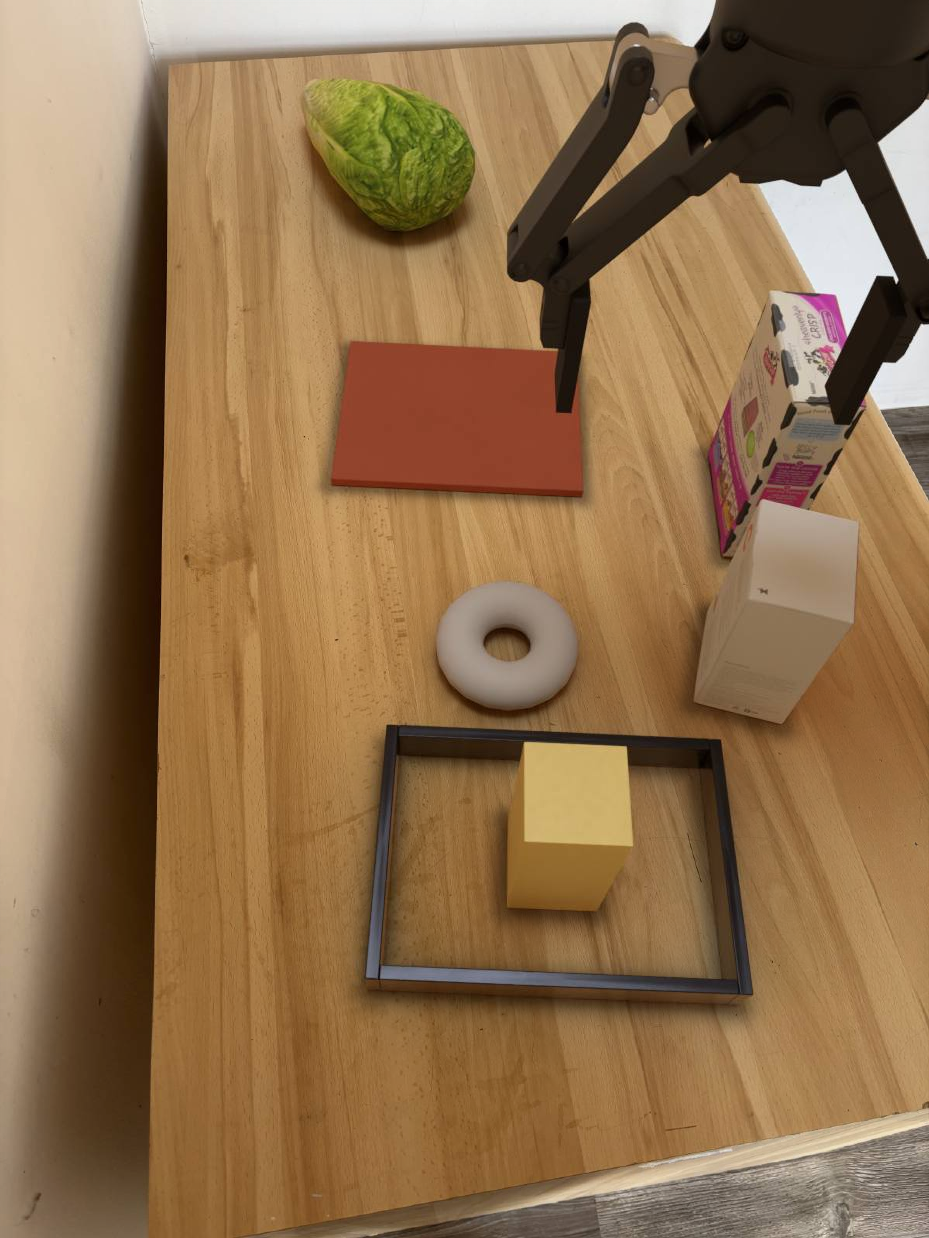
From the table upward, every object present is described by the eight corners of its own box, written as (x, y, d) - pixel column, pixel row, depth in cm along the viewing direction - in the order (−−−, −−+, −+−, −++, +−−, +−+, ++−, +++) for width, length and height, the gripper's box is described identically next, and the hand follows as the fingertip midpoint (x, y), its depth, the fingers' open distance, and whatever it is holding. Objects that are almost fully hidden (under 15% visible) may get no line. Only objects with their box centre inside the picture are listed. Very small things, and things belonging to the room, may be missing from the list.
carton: (593, 824, 60) (626, 745, 50) (596, 911, 57) (633, 846, 47) (507, 821, 60) (524, 741, 50) (506, 907, 57) (524, 841, 47)
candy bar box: (785, 563, 72) (871, 407, 58) (720, 559, 72) (791, 403, 58) (765, 454, 78) (839, 290, 64) (705, 451, 78) (766, 286, 64)
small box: (782, 726, 64) (856, 626, 53) (691, 703, 65) (745, 599, 54) (792, 631, 68) (862, 519, 57) (706, 610, 69) (758, 496, 58)
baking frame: (709, 757, 63) (721, 738, 60) (738, 1005, 54) (753, 995, 52) (387, 743, 62) (386, 723, 60) (367, 989, 54) (364, 978, 51)
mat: (575, 358, 83) (576, 351, 82) (582, 497, 74) (583, 490, 74) (351, 347, 83) (350, 340, 82) (331, 485, 74) (330, 478, 74)
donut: (434, 719, 64) (581, 719, 64) (434, 695, 61) (587, 696, 61) (436, 597, 69) (571, 598, 69) (435, 570, 66) (576, 571, 66)
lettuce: (378, 55, 100) (284, 1, 91) (515, 153, 88) (423, 102, 79) (332, 163, 106) (238, 123, 96) (455, 269, 94) (361, 235, 85)
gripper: (1226, -147, 30) (931, 358, 48) (464, -187, 30) (450, 337, 48) (1337, -44, 26) (970, 467, 44) (457, -89, 26) (444, 444, 44)
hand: (699, 400), depth 46 cm, fingers open, 13 cm apart
